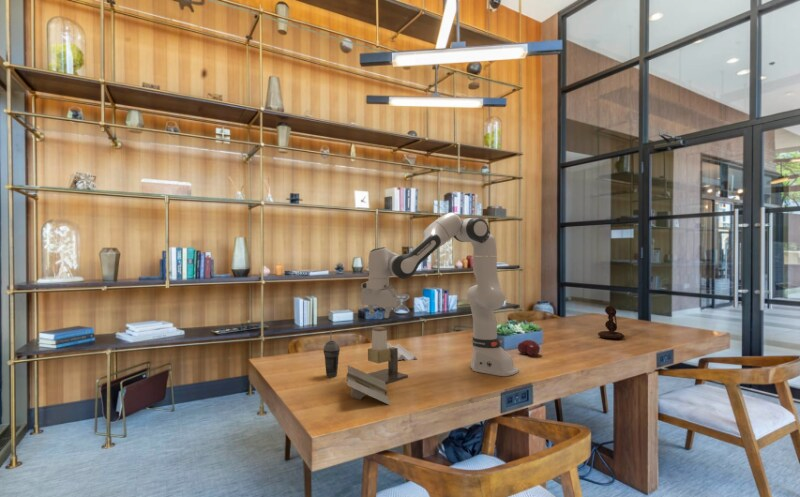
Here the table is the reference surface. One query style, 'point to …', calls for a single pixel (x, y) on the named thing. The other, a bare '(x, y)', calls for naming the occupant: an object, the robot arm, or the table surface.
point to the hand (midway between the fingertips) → (379, 316)
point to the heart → (529, 347)
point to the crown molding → (402, 352)
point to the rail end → (379, 338)
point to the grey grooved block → (366, 385)
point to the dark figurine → (611, 325)
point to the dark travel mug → (331, 358)
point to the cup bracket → (392, 358)
